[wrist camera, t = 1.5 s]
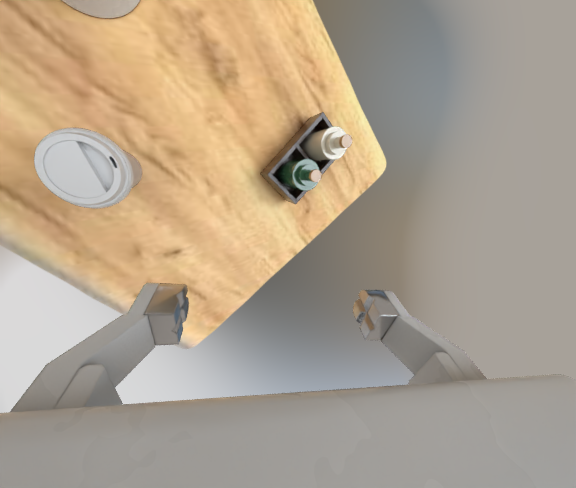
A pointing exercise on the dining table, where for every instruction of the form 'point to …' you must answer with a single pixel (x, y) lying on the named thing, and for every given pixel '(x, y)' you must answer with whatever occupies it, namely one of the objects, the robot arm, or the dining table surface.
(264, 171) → the caddy
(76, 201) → the coffee cup
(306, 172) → the green bottle
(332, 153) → the cream bottle
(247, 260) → the dining table surface
